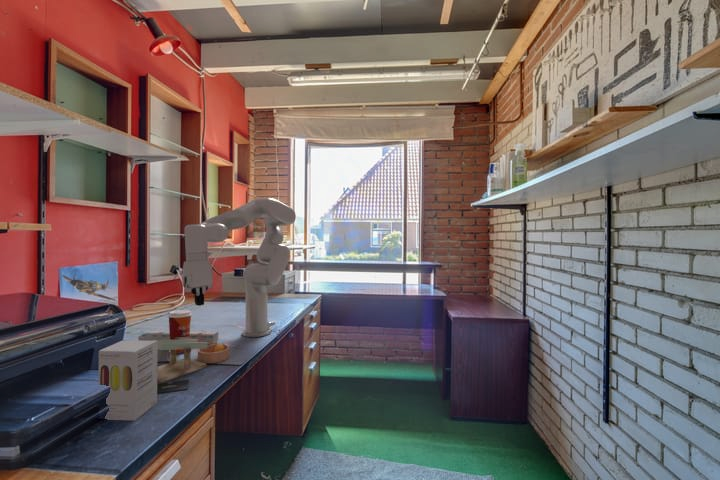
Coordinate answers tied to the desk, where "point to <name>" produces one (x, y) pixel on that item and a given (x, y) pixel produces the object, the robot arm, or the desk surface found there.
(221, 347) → the ball
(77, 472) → the desk surface
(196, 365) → the stand
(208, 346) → the bowl
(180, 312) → the coffee cup
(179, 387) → the solid state drive
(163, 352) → the lever tray
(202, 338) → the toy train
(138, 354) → the supplement box
